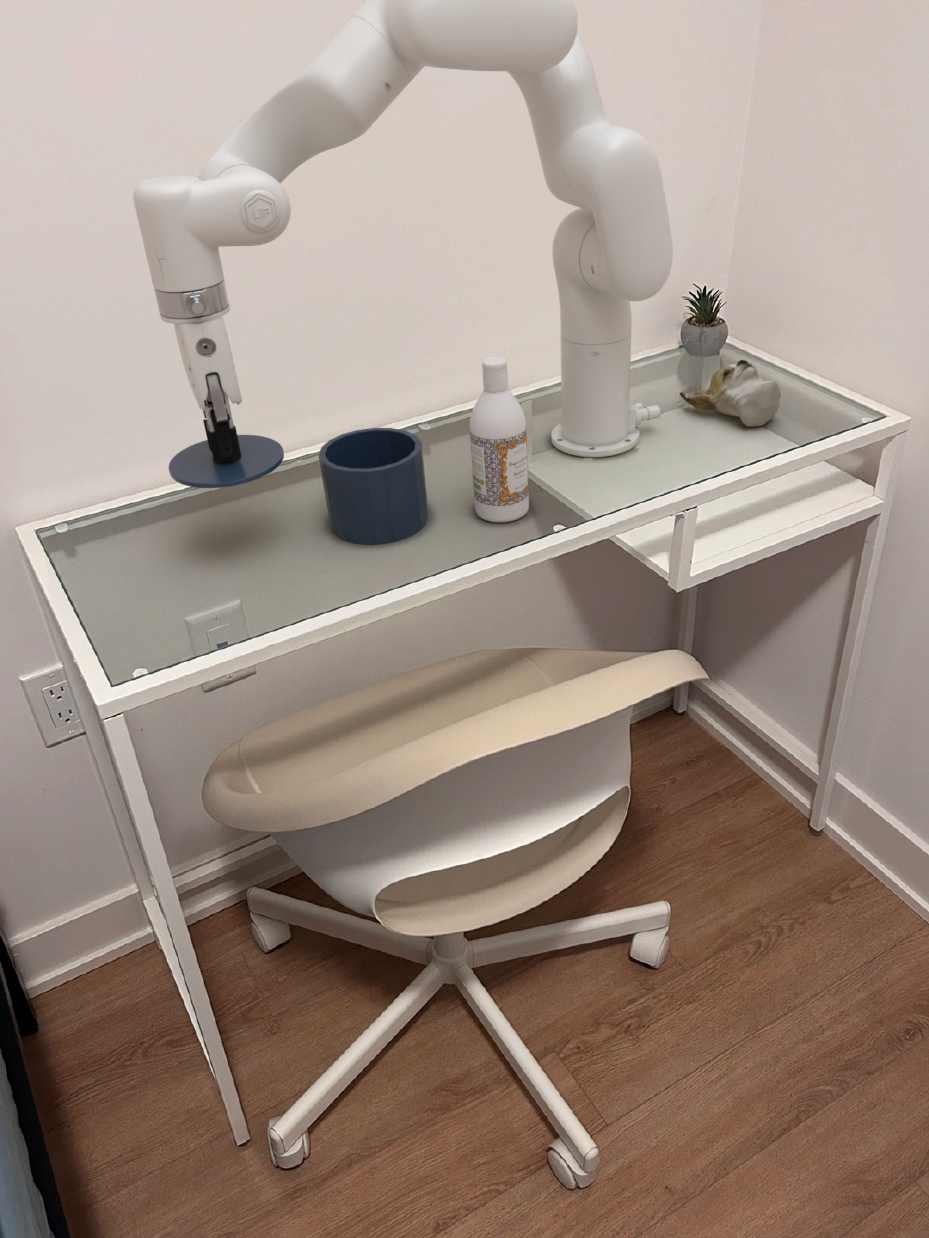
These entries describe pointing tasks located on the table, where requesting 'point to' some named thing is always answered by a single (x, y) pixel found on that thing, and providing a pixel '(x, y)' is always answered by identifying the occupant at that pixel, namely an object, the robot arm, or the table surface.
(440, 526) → the table surface
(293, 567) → the table surface
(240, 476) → the tin lid
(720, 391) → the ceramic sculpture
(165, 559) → the table surface
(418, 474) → the tin
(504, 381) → the bath foam
